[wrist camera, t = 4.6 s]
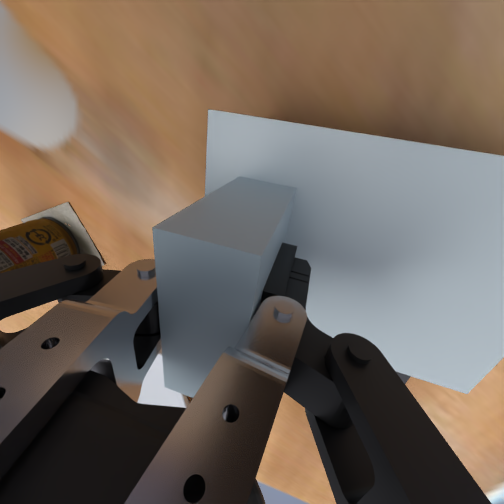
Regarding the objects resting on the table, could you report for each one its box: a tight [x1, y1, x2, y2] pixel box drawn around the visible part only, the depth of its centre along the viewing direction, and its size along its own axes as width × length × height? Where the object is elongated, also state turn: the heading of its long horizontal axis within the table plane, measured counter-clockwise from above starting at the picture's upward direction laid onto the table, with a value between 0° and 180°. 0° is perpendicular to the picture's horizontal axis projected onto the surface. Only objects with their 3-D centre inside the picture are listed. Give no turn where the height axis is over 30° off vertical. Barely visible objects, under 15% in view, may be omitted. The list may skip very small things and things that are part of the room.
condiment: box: [0, 202, 104, 273], centre depth 23 cm, size 7×8×12 cm
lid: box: [152, 109, 504, 398], centre depth 9 cm, size 15×11×8 cm
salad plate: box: [137, 348, 189, 408], centre depth 36 cm, size 21×21×3 cm
